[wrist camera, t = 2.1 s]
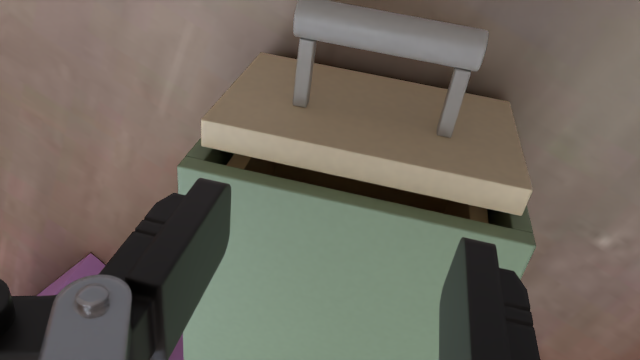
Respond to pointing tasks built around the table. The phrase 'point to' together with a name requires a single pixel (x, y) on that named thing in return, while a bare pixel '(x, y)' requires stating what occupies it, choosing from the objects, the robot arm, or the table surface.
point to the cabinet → (330, 270)
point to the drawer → (376, 117)
